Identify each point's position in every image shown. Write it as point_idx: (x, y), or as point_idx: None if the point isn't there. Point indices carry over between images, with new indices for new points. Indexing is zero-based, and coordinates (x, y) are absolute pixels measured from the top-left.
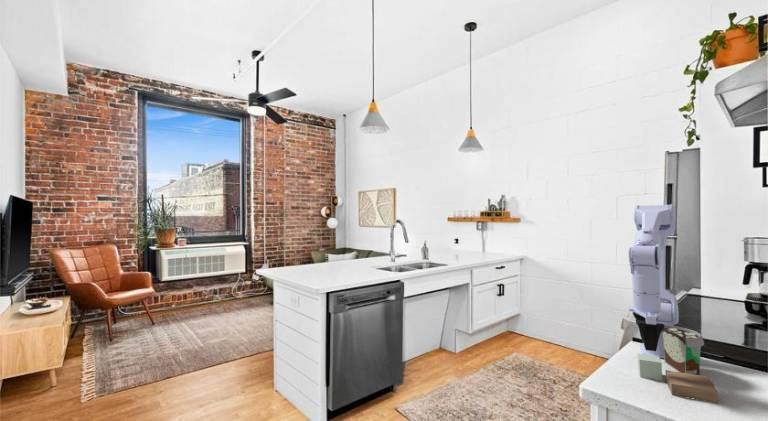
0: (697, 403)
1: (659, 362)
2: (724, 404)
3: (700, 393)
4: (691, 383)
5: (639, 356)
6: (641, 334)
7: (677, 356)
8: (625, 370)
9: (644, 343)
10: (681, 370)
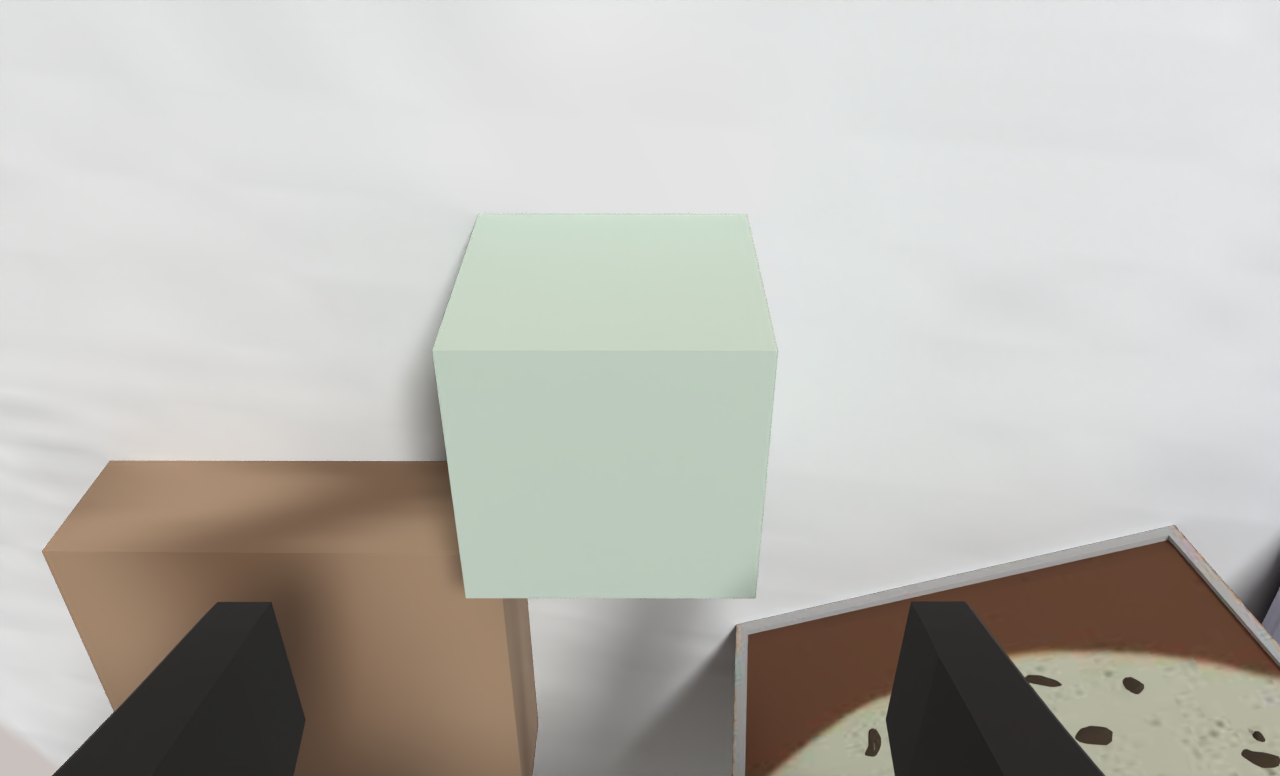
0: None
1: (465, 577)
2: None
3: None
4: None
5: (618, 364)
6: (955, 715)
7: None
8: (663, 32)
9: (116, 712)
10: (823, 640)
